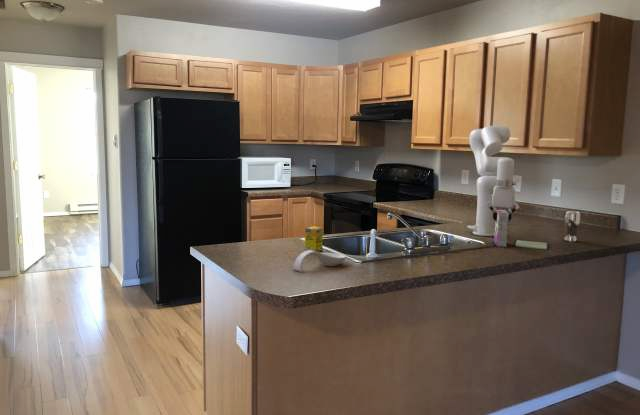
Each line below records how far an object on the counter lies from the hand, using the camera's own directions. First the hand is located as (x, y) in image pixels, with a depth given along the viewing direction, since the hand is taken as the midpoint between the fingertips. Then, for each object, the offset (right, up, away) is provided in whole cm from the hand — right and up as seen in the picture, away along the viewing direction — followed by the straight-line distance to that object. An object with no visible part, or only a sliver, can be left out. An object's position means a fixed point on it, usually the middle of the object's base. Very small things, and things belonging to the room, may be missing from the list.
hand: (501, 220), depth 249 cm
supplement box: (-91, -14, -21) cm, 95 cm away
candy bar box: (0, -12, +2) cm, 12 cm away
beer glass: (+40, -11, +14) cm, 44 cm away
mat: (+15, -12, +2) cm, 19 cm away
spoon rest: (-88, -17, -46) cm, 101 cm away
